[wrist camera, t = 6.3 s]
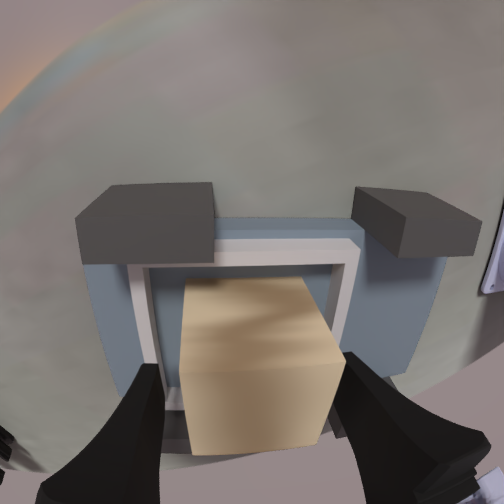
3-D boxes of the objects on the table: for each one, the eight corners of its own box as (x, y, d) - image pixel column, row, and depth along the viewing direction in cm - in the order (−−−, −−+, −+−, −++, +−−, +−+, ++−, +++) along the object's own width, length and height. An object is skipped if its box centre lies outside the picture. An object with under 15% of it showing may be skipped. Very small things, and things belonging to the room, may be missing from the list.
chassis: (443, 194, 15) (498, 222, 11) (388, 374, 21) (415, 418, 17) (85, 187, 13) (41, 220, 9) (128, 394, 18) (119, 450, 14)
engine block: (300, 276, 14) (346, 361, 9) (288, 359, 16) (316, 444, 11) (185, 278, 13) (178, 372, 8) (191, 363, 15) (192, 455, 11)
